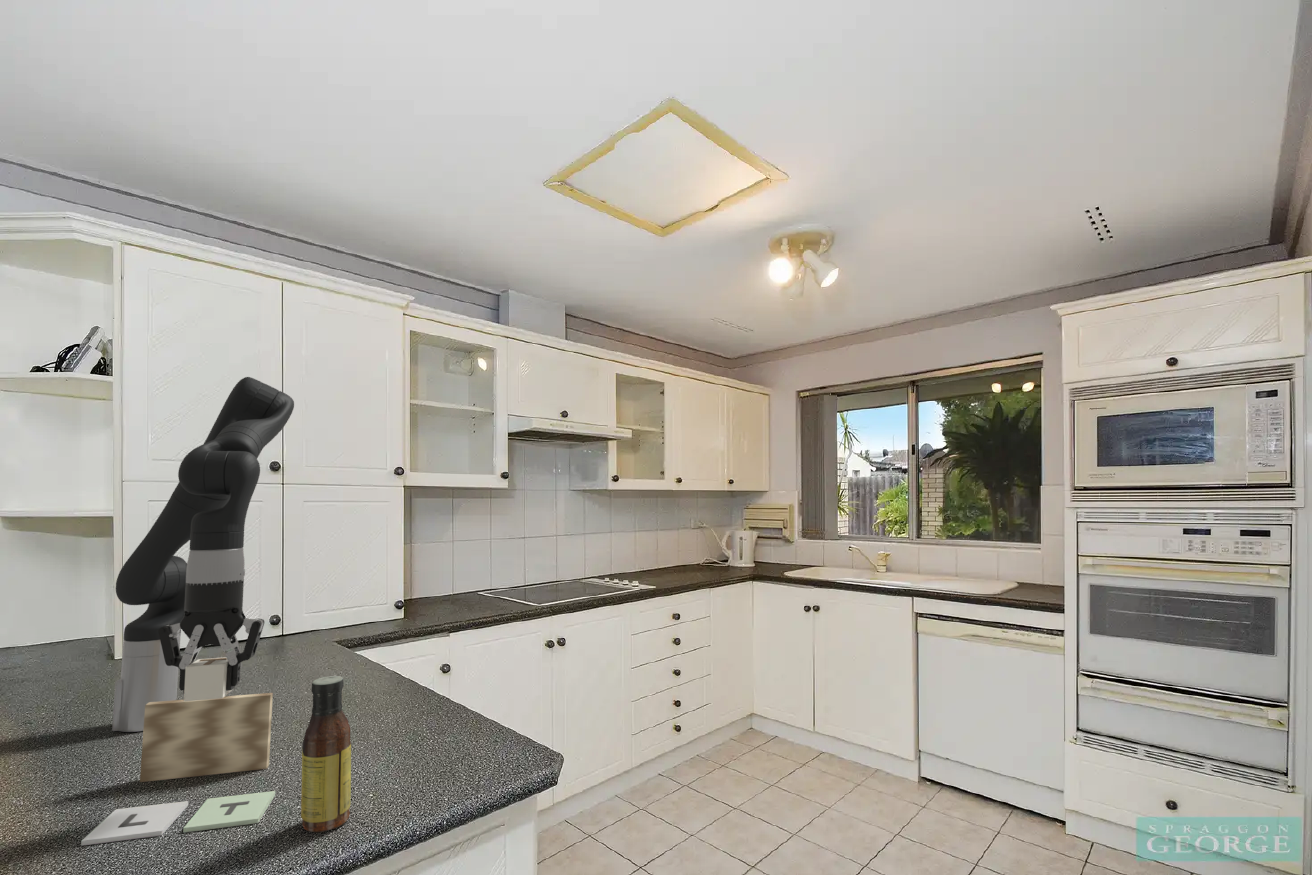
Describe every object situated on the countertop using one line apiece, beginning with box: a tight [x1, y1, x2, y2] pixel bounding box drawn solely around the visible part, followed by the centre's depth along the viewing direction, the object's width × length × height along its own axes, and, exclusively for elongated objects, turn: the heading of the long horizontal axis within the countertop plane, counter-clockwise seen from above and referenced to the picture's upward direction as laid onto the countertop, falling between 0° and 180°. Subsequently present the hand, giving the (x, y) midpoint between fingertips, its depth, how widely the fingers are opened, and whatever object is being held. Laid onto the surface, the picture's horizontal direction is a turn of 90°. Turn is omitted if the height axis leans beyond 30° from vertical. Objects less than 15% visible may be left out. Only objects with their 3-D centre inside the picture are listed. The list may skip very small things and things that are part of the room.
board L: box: [80, 800, 189, 846], centre depth 91 cm, size 9×9×1 cm
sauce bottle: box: [300, 675, 352, 834], centre depth 92 cm, size 7×6×20 cm
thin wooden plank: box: [139, 692, 274, 783], centre depth 108 cm, size 18×2×12 cm, turn 107°
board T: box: [182, 790, 276, 834], centre depth 94 cm, size 9×9×1 cm
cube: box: [183, 656, 234, 702], centre depth 100 cm, size 5×5×5 cm
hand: (209, 690), depth 100 cm, fingers closed on cube, 5 cm apart
